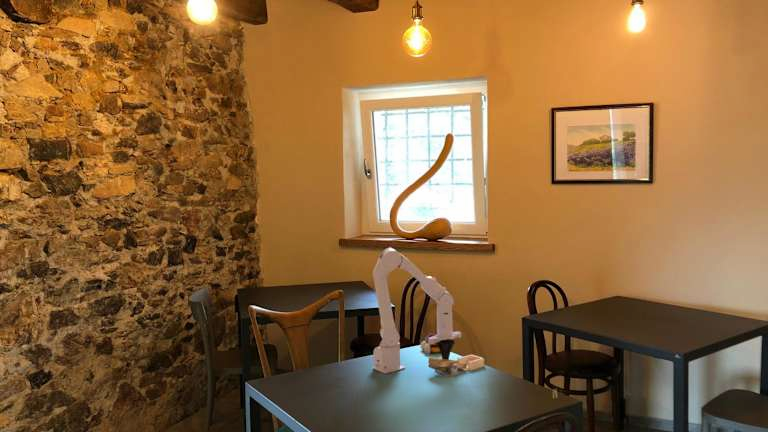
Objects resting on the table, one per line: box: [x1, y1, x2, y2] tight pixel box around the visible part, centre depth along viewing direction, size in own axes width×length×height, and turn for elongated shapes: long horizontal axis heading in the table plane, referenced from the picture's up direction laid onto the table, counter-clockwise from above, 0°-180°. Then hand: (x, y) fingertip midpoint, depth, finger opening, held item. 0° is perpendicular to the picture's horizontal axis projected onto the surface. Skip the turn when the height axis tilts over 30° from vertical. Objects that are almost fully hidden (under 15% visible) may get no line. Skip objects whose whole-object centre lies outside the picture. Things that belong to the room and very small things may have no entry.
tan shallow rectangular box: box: [456, 354, 485, 372], centre depth 227 cm, size 9×6×3 cm
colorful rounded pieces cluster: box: [420, 332, 440, 355], centre depth 248 cm, size 8×10×7 cm
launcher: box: [427, 357, 467, 371], centre depth 224 cm, size 14×12×3 cm
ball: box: [469, 355, 478, 361], centre depth 229 cm, size 3×3×3 cm
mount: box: [434, 363, 462, 378], centre depth 221 cm, size 5×9×4 cm, turn 35°
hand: (445, 359), depth 230 cm, fingers closed
